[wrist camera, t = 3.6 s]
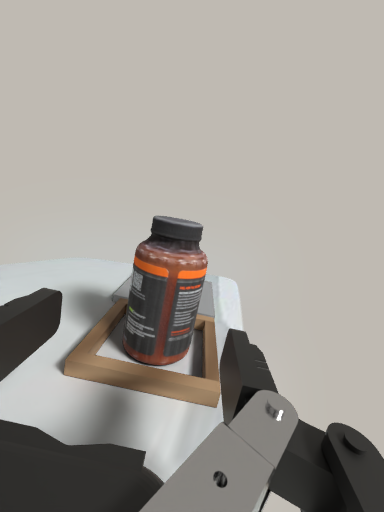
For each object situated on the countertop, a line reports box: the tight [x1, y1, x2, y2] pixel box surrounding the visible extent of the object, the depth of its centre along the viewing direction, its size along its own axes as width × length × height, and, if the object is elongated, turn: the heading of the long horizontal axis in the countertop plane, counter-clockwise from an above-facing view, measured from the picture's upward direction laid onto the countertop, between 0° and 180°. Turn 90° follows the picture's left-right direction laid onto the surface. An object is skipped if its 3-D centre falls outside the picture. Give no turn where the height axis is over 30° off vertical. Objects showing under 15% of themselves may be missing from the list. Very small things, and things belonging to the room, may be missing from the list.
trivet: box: [112, 276, 215, 318], centre depth 33 cm, size 12×12×1 cm
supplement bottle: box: [123, 216, 208, 365], centre depth 20 cm, size 6×6×11 cm
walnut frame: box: [64, 298, 221, 408], centre depth 21 cm, size 10×10×1 cm
